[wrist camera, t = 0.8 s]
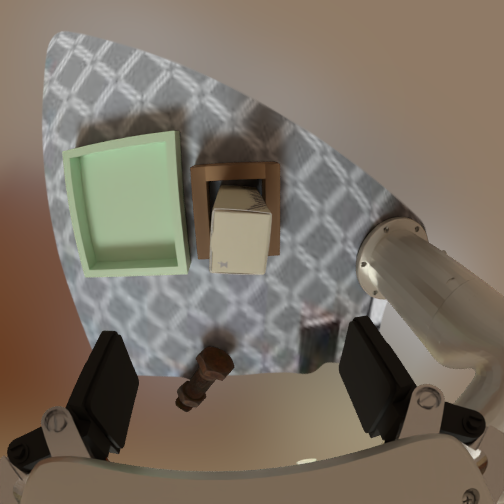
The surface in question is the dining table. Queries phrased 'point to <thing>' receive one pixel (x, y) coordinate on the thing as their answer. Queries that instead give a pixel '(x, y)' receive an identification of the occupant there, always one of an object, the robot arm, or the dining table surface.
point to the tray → (129, 206)
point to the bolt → (204, 377)
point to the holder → (234, 172)
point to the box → (239, 231)
